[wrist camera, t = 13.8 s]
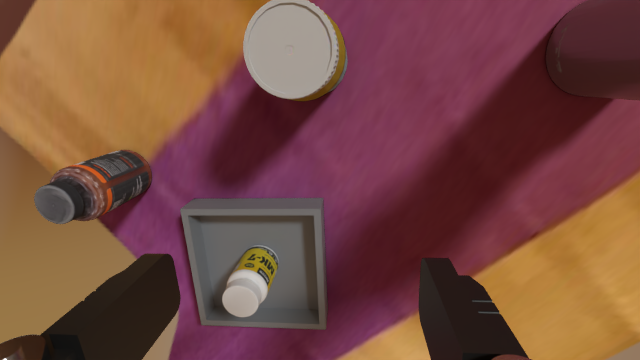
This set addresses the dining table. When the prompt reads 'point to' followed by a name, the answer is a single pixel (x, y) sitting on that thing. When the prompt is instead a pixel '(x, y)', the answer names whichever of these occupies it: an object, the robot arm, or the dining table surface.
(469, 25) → the dining table surface
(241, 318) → the tray
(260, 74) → the bottle
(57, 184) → the supplement bottle
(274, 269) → the supplement bottle
